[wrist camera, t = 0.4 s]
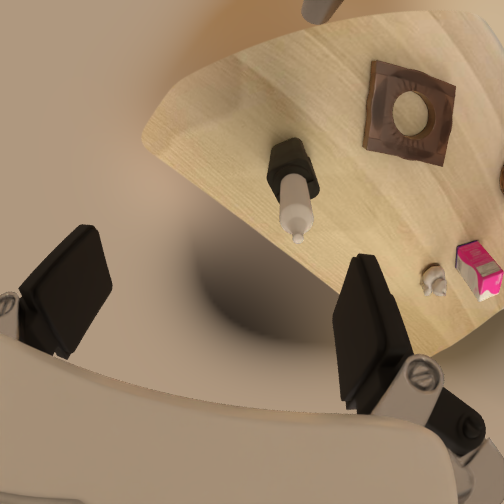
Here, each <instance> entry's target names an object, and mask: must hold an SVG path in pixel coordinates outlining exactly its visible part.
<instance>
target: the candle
mask: <svg viewBox="0 0 504 504" xmlns="http://www.w3.org/2000/svg"><path fill="white" fill-rule="evenodd" d="M267 181H268V183H269V185H270V187H271V189H272V191H273V193H274V195H275V197H276V199H277V200H278V202H279V204H280V215H279V219H280V224H281V227H282V228H283V229H284V230H285V231H286V232H288V233H290V234H292V235H293V238H292V239H293V242H294V243H296V244H300V243H302V242H303V240H304V237H303V234H304V233H306V232H307V231H308V230H309V229H310V228H311V227H312V225H313V222H314V216H313V211H312V206H311V201H310V199H313V198H315V197H316V196H317V195H318V194H319V191H320V187H319V184H318V181H317V178H316V175H315V172H314V169H313V166H312V163H311V160H310V158H309V157H308V156H307V154H306V152H305V149H304V146H303V143H302V141H301V140H300V139H299V138H291V139H289V140H286V141H284V142H282V143H280V144H277V145H275V146H274V147H273V148H272V150H271V155H270V161H269V167H268V173H267Z"/></svg>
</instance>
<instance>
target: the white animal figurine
mask: <svg viewBox="0 0 504 504" xmlns="http://www.w3.org/2000/svg"><path fill="white" fill-rule="evenodd" d="M423 281H424V284H423V286H422V289H423V290H424V295H425V296H429V295H430V294H431V293H432V291H433V293H434V294H435V295H437V296H446V291H447V281H446V280H445V271H444V269H443V268H441V267H439V266H433V267H430V268H429V269H428V270H427V271H426V272H425V273H424V274H423Z"/></svg>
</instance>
